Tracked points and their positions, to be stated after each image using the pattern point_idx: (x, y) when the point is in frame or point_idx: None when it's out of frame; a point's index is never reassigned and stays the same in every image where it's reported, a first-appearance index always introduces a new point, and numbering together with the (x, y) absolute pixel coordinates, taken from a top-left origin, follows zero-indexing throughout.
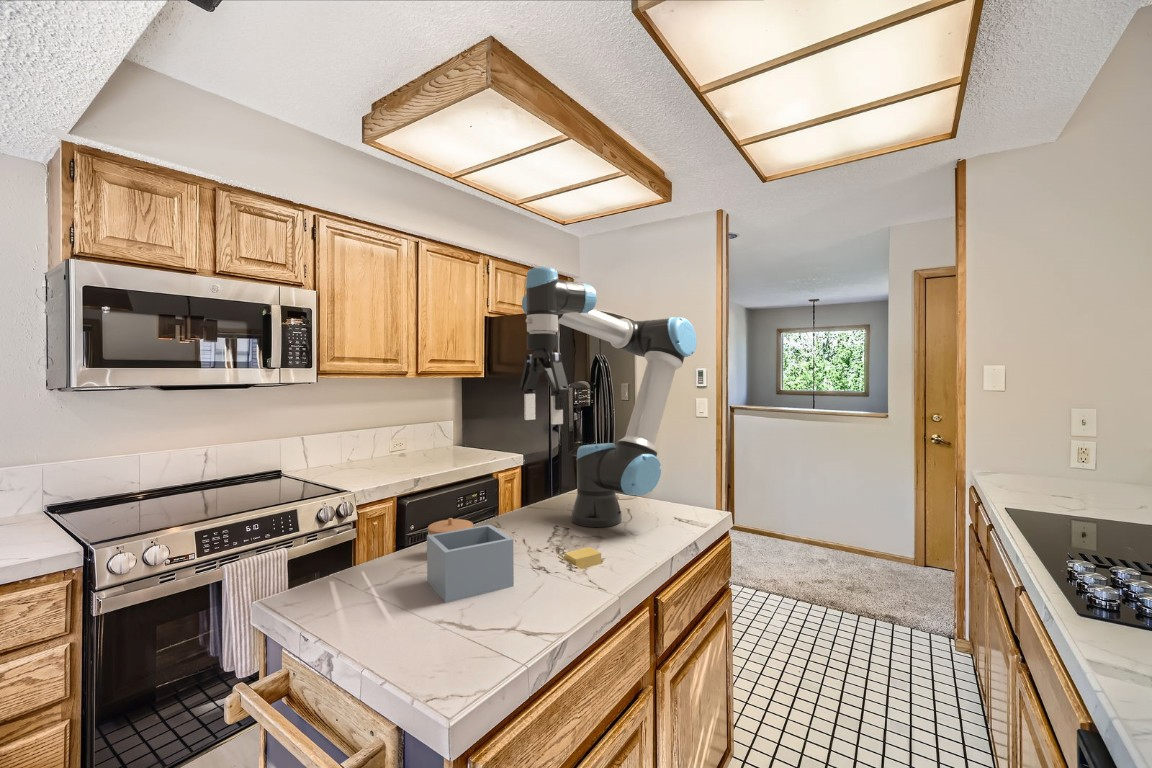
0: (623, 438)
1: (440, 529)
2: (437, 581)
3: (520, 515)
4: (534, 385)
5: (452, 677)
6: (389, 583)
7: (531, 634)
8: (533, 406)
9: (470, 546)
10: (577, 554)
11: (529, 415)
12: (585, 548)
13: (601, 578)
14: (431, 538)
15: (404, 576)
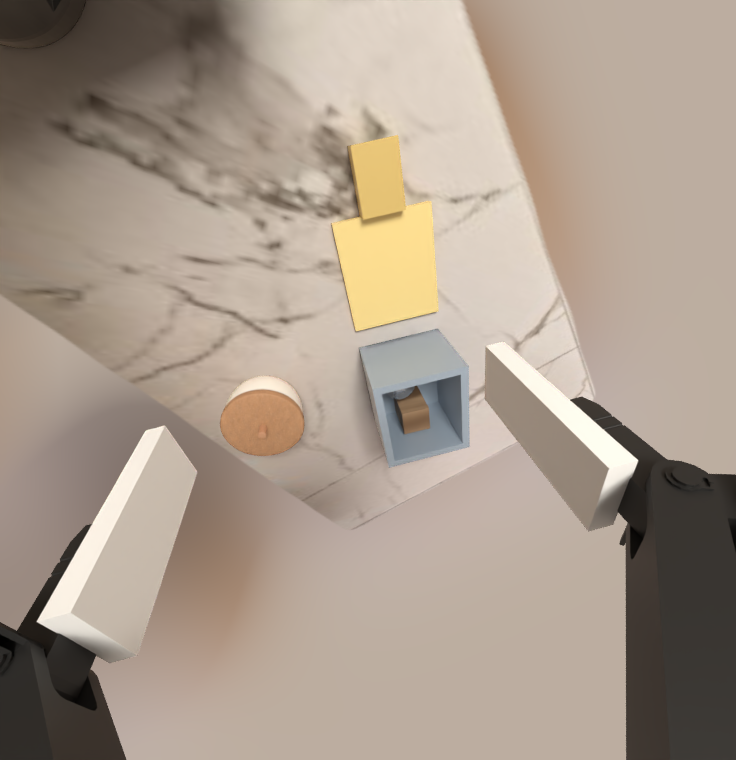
0: None
1: (287, 440)
2: None
3: None
4: (62, 744)
5: None
6: (343, 453)
7: (539, 329)
8: (138, 506)
9: (465, 421)
10: (383, 195)
11: (179, 475)
12: (356, 160)
13: (456, 174)
14: (405, 462)
15: (326, 442)
